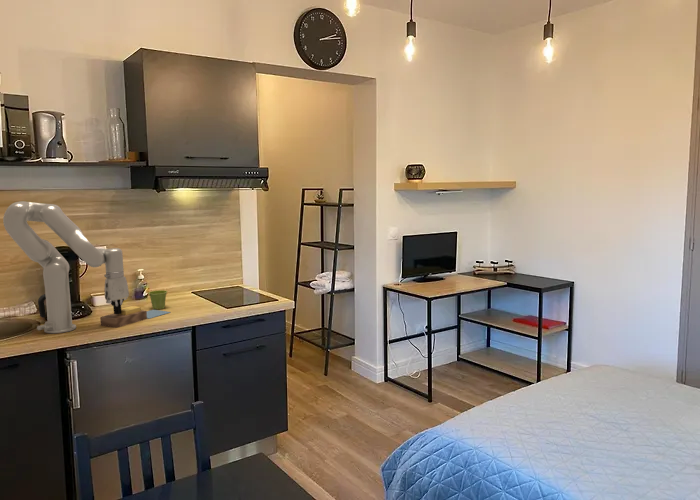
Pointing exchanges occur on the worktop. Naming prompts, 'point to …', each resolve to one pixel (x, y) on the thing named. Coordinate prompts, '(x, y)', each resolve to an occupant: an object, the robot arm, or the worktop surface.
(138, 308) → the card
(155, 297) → the plant pot
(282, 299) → the worktop surface
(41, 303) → the milk frother
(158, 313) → the mat
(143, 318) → the brown flat block
